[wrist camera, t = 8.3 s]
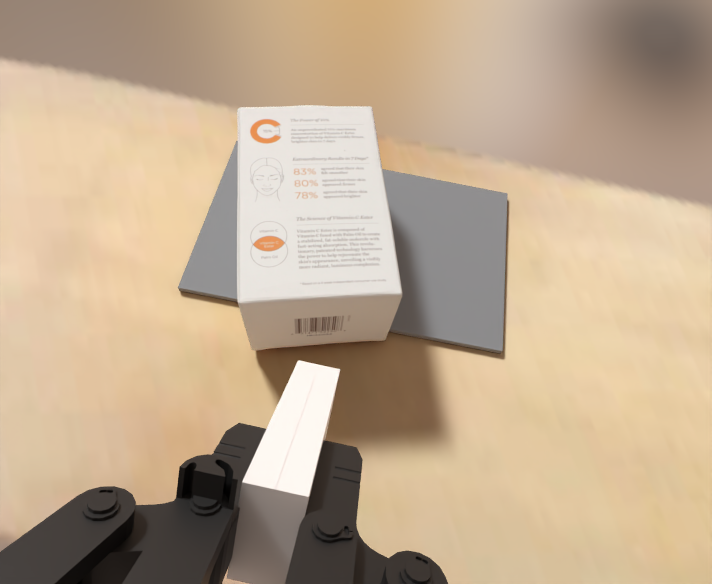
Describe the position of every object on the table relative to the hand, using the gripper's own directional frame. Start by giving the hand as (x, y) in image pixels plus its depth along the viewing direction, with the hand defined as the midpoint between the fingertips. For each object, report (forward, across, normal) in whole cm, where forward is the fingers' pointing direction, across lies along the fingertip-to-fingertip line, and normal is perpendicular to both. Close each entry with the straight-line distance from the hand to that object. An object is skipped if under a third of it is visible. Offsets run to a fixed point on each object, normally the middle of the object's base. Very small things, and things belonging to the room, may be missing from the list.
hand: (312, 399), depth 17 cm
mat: (+17, 0, +3) cm, 17 cm away
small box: (+9, -1, -1) cm, 9 cm away
